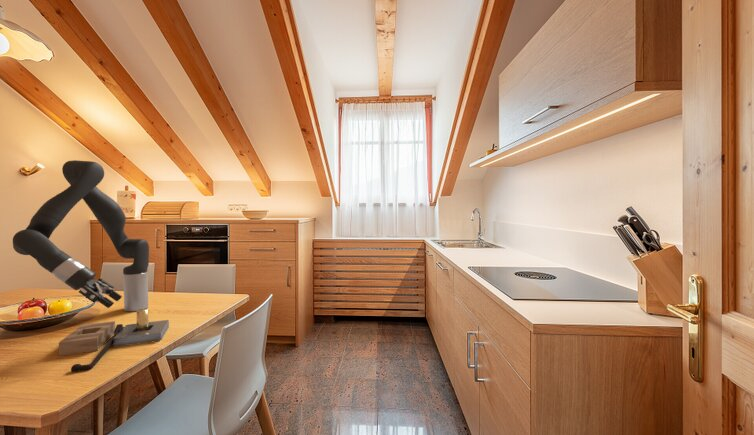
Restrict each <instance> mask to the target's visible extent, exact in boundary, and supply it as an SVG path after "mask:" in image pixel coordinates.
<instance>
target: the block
mask: <svg viewBox="0 0 754 435" xmlns="http://www.w3.org/2000/svg"><path fill="white" fill-rule="evenodd" d="M123 327H124V328H123V329H122V330H121V331H120V332H119V333H118V334H117V335H116V336H115V337H114V339H113V340H114V343H113V348H114V347H123V346H124V347H125V346H130V345H131V344H132V345H138V343H140V344H146V343H145V342H147V343H153V342H152V341H154V342H160V340H161V341H162V340H163V338H164V336H165V335H166V333H167V331H168V330H169V328H170V320H169V319H166V320H155V321H149V330H147V331H139V332H137V323H131V324H125V325H124V326H123Z"/></svg>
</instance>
